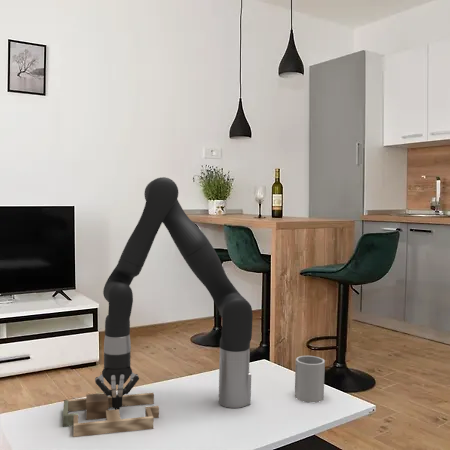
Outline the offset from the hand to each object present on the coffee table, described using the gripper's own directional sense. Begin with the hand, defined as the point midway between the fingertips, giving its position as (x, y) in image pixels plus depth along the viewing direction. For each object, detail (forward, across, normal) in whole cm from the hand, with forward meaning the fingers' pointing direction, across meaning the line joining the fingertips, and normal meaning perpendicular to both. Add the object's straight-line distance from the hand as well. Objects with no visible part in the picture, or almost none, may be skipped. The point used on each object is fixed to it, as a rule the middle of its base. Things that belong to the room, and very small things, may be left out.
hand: (116, 408), depth 152 cm
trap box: (+1, +2, +3) cm, 4 cm away
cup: (+2, -60, +1) cm, 60 cm away
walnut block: (+1, +6, 0) cm, 6 cm away
